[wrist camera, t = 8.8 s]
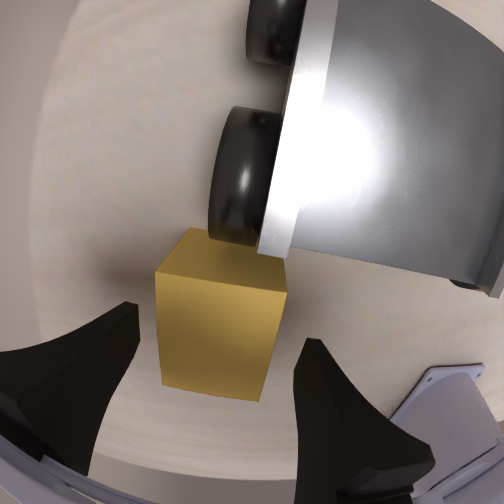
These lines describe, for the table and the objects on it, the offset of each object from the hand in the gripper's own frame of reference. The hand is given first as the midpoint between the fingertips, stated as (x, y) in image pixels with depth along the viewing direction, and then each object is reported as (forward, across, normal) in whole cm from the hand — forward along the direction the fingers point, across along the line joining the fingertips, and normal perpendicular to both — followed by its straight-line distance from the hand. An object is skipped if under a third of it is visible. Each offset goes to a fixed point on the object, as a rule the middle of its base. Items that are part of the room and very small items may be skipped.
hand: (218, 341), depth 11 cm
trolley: (+4, -6, -10) cm, 12 cm away
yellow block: (+4, 0, 0) cm, 4 cm away
